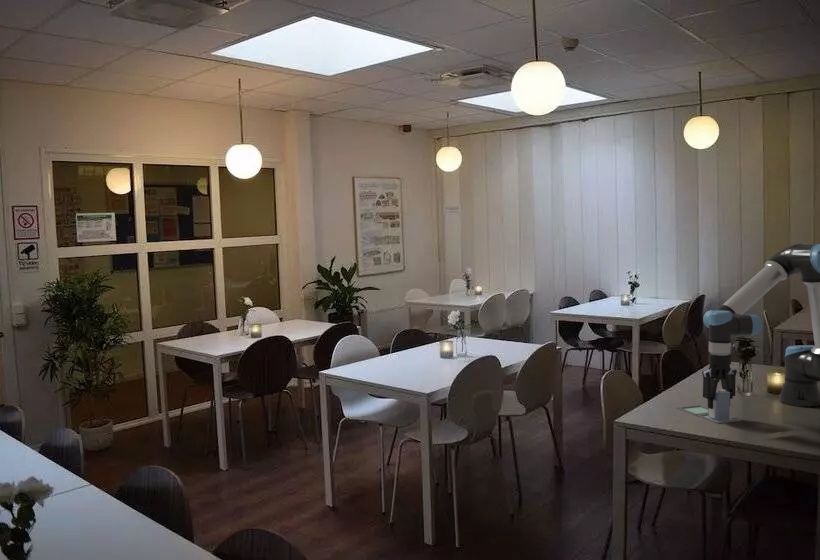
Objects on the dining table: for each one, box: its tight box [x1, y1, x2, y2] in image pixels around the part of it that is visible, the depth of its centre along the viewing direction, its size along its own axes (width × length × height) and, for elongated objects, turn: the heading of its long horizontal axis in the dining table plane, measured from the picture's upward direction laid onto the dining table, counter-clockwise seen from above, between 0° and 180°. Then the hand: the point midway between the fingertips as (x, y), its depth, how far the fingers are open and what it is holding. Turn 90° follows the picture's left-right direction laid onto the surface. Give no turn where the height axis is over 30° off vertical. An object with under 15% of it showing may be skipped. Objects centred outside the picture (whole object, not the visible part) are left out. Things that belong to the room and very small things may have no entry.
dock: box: [676, 404, 742, 425], centre depth 256 cm, size 16×22×2 cm
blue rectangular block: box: [707, 388, 731, 421], centre depth 250 cm, size 5×5×11 cm
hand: (718, 416), depth 250 cm, fingers closed on blue rectangular block, 5 cm apart
